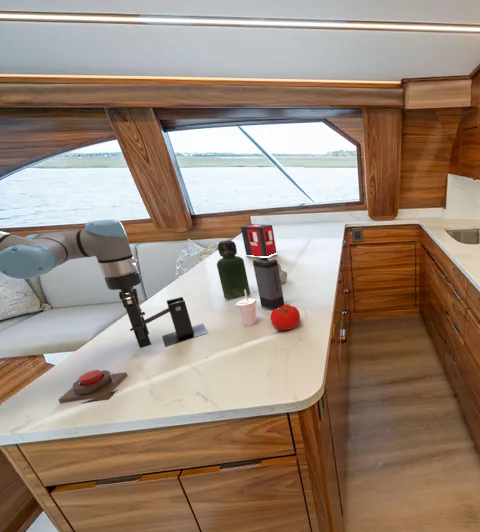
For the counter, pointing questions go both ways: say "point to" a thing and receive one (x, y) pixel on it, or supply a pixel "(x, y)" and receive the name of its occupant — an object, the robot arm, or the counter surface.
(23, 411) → the counter surface
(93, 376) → the red button
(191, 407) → the counter surface
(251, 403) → the counter surface
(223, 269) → the green bottle
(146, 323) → the switch lever
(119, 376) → the button block
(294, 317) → the tomato
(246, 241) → the cleaning product box
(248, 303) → the smoothie
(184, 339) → the switch bracket
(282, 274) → the air freshener
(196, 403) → the counter surface
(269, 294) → the electronic device
